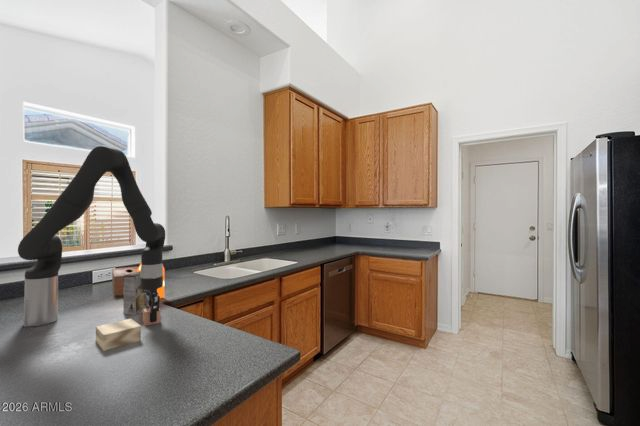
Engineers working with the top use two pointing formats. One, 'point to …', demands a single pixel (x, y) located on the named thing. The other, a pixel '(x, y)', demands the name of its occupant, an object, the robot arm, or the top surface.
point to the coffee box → (133, 294)
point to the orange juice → (159, 290)
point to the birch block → (118, 334)
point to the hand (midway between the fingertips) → (151, 319)
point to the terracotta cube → (147, 316)
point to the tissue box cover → (120, 278)
